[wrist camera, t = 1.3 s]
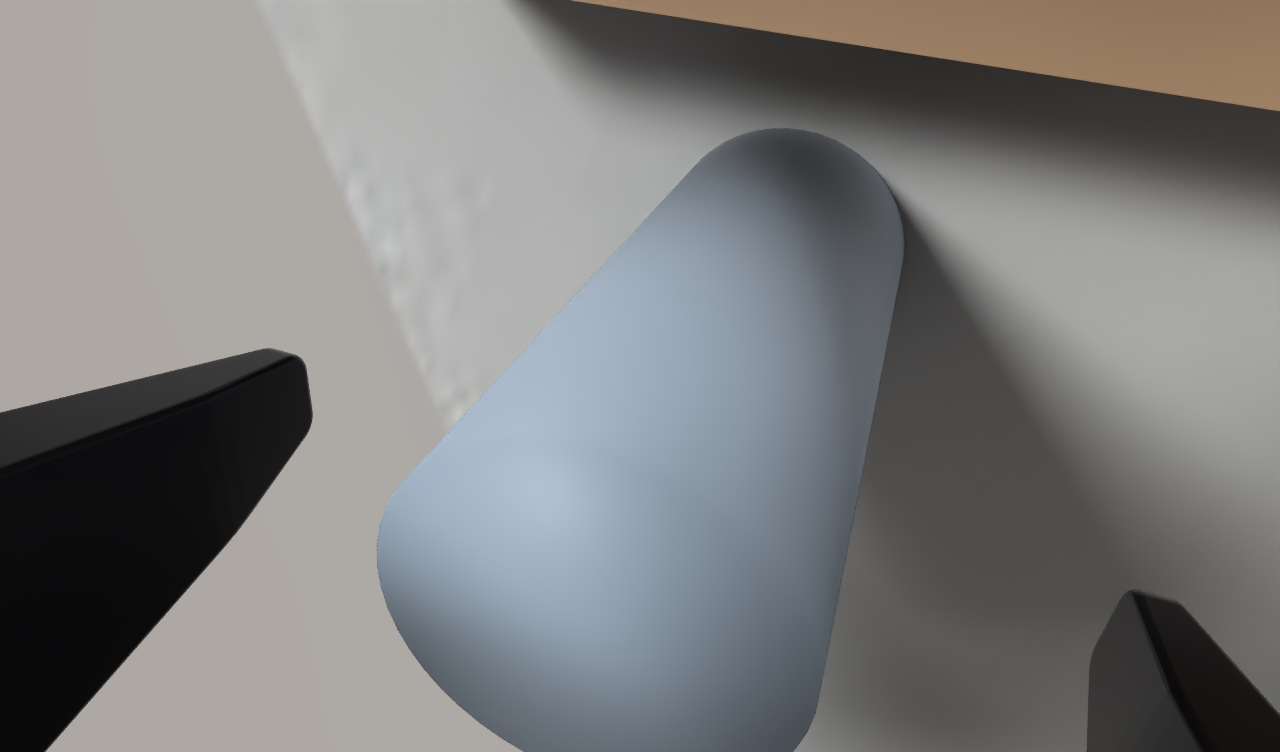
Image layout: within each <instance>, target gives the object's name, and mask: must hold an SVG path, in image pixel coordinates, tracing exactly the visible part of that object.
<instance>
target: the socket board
mask: <svg viewBox="0 0 1280 752" xmlns="http://www.w3.org/2000/svg"><path fill="white" fill-rule="evenodd" d="M572 1H578V2H585V3H591V4H597V5H604V6H610V7H617V8H623V9H629V10H636V11H642V12H648V13H655V14H661V15H668V16H674V17H680V18H687V19H693V20H700V21H706V22H712V23H719V24H725V25H732V26H738V27H744V28H751V29H757V30H764V31H770V32H776V33H783V34H789V35H796V36H802V37H808V38H815V39H821V40H828V41H834V42H840V43H847V44H853V45H860V46H866V47H872V48H879V49H885V50H892V51H898V52H904V53H911V54H917V55H924V56H930V57H936V58H943V59H949V60H956V61H962V62H968V63H975V64H981V65H988V66H994V67H1000V68H1007V69H1013V70H1020V71H1026V72H1032V73H1039V74H1045V75H1052V76H1058V77H1064V78H1071V79H1077V80H1083V81H1090V82H1096V83H1103V84H1109V85H1115V86H1122V87H1128V88H1135V89H1141V90H1147V91H1154V92H1160V93H1167V94H1173V95H1179V96H1186V97H1192V98H1199V99H1205V100H1211V101H1218V102H1224V103H1231V104H1237V105H1243V106H1250V107H1256V108H1263V109H1269V110H1275V111H1280V0H572Z"/></svg>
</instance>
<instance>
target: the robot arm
mask: <svg viewBox="0 0 1280 752" xmlns="http://www.w3.org/2000/svg"><path fill="white" fill-rule="evenodd" d="M312 417H313V412H312V404H311V397H310V390H309V383H308V376H307V369H306V365H305V363H304V362H303V360H302V359H301V358H300V357H298V356H297V355H294V354H291V353H287V352H284V351H280V350H276V349H270V348H266V349H261V350H257V351H253V352H248V353H244V354H240V355H236V356H232V357H228V358H224V359H220V360H215V361H211V362H208V363H203V364H199V365H195V366H191V367H187V368H182V369H178V370H174V371H170V372H166V373H162V374H158V375H154V376H149V377H145V378H141V379H137V380H133V381H129V382H125V383H120V384H116V385H112V386H108V387H104V388H100V389H96V390H92V391H87V392H83V393H79V394H75V395H71V396H67V397H63V398H59V399H55V400H50V401H46V402H42V403H38V404H34V405H30V406H25V407H21V408H17V409H13V410H9V411H5V412H1V413H0V752H46V750H47V749H48V748H49V747H50V746H51V745H52V744H53V742H54V741H55V740H56V739H57V738H58V737H59V736H60V734H61V733H62V732H63V731H64V730H65V728H67V726H68V725H69V724H70V723H71V722H72V720H74V718H75V717H76V716H77V715H78V714H79V713H80V711H81V710H82V709H83V708H84V707H85V706H86V705H87V704H88V702H89V701H90V700H91V699H92V698H93V697H94V696H95V694H96V693H97V692H98V691H99V690H100V689H101V688H102V686H103V685H104V684H105V683H106V682H107V681H108V680H109V678H110V677H111V676H112V675H113V674H114V672H116V670H117V669H118V668H119V667H120V666H121V665H122V663H123V662H124V661H125V660H126V659H127V658H128V657H129V656H130V654H131V653H132V652H133V651H134V650H135V649H136V648H137V646H138V645H139V644H140V643H141V642H142V641H143V640H144V639H145V637H146V636H147V635H148V634H149V633H150V632H151V631H152V629H153V628H154V627H155V626H156V625H157V624H158V623H159V621H160V620H161V619H162V618H163V617H164V616H165V615H166V613H167V612H168V611H169V610H170V609H171V608H172V607H173V605H174V604H175V603H176V602H177V601H178V600H179V599H180V597H181V596H182V595H183V594H184V593H185V592H186V590H187V589H188V588H189V587H190V586H191V585H192V584H193V583H194V581H195V580H196V579H197V578H198V577H199V575H201V573H202V572H203V571H204V570H205V569H206V568H207V566H208V565H209V564H210V563H211V562H212V561H213V560H214V559H215V557H216V556H217V555H218V554H219V553H220V552H221V551H222V549H223V548H224V547H225V546H226V545H227V543H228V542H229V541H230V540H231V539H232V537H233V536H234V535H235V534H236V533H237V531H238V530H239V529H240V527H241V526H242V525H243V523H244V522H245V521H246V519H247V518H248V517H249V515H250V514H251V513H252V511H253V510H254V508H255V507H256V506H257V504H258V503H259V501H260V500H261V498H262V497H263V496H264V494H265V493H266V491H267V490H268V489H269V487H270V486H271V484H272V483H273V481H274V480H275V479H276V477H277V476H278V475H279V473H280V472H281V470H282V469H283V467H284V466H285V464H286V463H287V462H288V461H289V459H290V458H291V456H292V455H293V454H294V452H295V451H296V449H297V448H298V446H299V445H300V444H301V442H302V441H303V439H304V438H305V437H306V435H307V433H308V431H309V429H310V426H311V423H312ZM1087 752H1280V714H1279V713H1278V712H1277V711H1276V709H1275V708H1274V707H1273V706H1272V705H1271V704H1270V703H1269V702H1268V700H1267V699H1266V698H1265V697H1264V696H1263V695H1262V694H1261V693H1260V691H1259V690H1258V689H1257V688H1256V687H1255V686H1254V685H1253V684H1252V682H1251V681H1250V680H1249V679H1248V678H1247V677H1246V676H1245V675H1244V673H1243V672H1242V671H1241V670H1240V669H1239V668H1238V667H1237V666H1236V664H1235V663H1234V662H1233V661H1232V660H1231V659H1230V658H1229V657H1228V655H1227V654H1226V653H1225V652H1224V651H1223V650H1222V649H1221V648H1220V646H1219V645H1218V644H1217V643H1216V642H1215V641H1214V640H1213V639H1212V638H1211V636H1210V635H1209V634H1208V633H1207V632H1206V631H1205V630H1204V629H1203V627H1202V626H1201V625H1200V624H1199V623H1198V622H1197V621H1196V620H1195V618H1194V617H1193V616H1192V615H1191V614H1190V613H1189V612H1188V611H1187V609H1186V608H1185V607H1184V606H1183V605H1182V604H1180V603H1179V602H1178V601H1176V600H1174V599H1171V598H1167V597H1163V596H1160V595H1156V594H1153V593H1149V592H1145V591H1142V590H1138V589H1134V590H1131V591H1128V592H1127V593H1126V594H1125V595H1124V596H1123V597H1122V598H1121V600H1120V601H1119V603H1118V605H1117V607H1116V609H1115V610H1114V612H1113V614H1112V616H1111V618H1110V620H1109V621H1108V623H1107V625H1106V627H1105V629H1104V631H1103V632H1102V634H1101V636H1100V638H1099V640H1098V642H1097V643H1096V646H1095V648H1094V650H1093V653H1092V657H1091V662H1090V669H1089V696H1088V728H1087Z"/></svg>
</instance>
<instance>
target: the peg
mask: <svg viewBox="0 0 1280 752" xmlns="http://www.w3.org/2000/svg"><path fill="white" fill-rule="evenodd" d="M904 244H905V242H904V231H903V225H902V221H901V217H900V212H899V210H898V207H897V205H896V202H895V200H894V197H893V196H892V194H891V192H890V190H889V189H888V187H887V185H886V183H885V182H884V181H883V179H882V178H881V177H880V176H879V174H878V173H877V172H876V170H875V169H874V168H873V167H872V166H871V165H870V164H869V163H868V162H867V161H866V160H864V159H863V158H862V157H861V156H859V155H858V154H857V153H855V152H854V151H853V150H851V149H850V148H848V147H846V146H845V145H843V144H841V143H839V142H837V141H836V140H833V139H831V138H828V137H826V136H823V135H820V134H817V133H813V132H809V131H805V130H797V129H789V128H779V129H765V130H759V131H753V132H750V133H747V134H743V135H740V136H737V137H735V138H733V139H731V140H729V141H726V142H724V143H723V144H721V145H720V146H718V147H716V148H715V149H713V150H712V151H711V152H709V153H708V154H707V155H706V156H705V157H703V158H702V159H701V160H700V161H699V162H698V163H697V164H696V165H695V166H694V168H693V169H692V170H691V171H690V172H689V173H688V174H687V175H686V176H685V177H684V178H683V179H682V180H681V182H680V183H679V184H678V185H677V186H676V187H675V188H674V189H673V190H672V191H671V192H670V193H669V195H668V196H667V197H666V198H665V199H664V200H663V201H662V202H661V203H660V204H659V205H658V206H657V207H656V209H655V210H654V211H653V212H652V213H651V214H650V215H649V216H648V217H647V218H646V219H645V220H644V222H643V223H642V224H641V225H640V226H639V227H638V228H637V229H636V230H635V231H634V232H633V233H632V234H631V236H630V237H629V238H628V239H627V240H626V241H625V242H624V243H623V244H622V245H621V246H620V247H619V249H618V250H617V251H616V252H615V253H614V254H613V255H612V256H611V257H610V258H609V259H608V260H607V261H606V263H605V264H604V265H603V266H602V267H601V268H600V269H599V270H598V271H597V272H596V273H595V274H594V276H593V277H592V278H591V279H590V280H589V281H588V282H587V283H586V284H585V285H584V286H583V287H582V288H581V290H580V291H579V292H578V293H577V294H576V295H575V296H574V297H573V298H572V299H571V300H570V301H569V303H568V304H567V305H566V306H565V307H564V308H563V309H562V310H561V311H560V312H559V313H558V314H557V315H556V317H555V318H554V319H553V320H552V321H551V322H550V323H549V324H548V325H547V326H546V327H545V328H544V330H543V331H542V332H541V333H540V334H539V335H538V336H537V337H536V338H535V339H534V340H533V341H532V342H531V344H530V345H529V346H528V347H527V348H526V349H525V350H524V351H523V352H522V353H521V354H520V355H519V357H518V358H517V359H516V360H515V361H514V362H513V363H512V364H511V365H510V366H509V367H508V368H507V369H506V371H505V372H504V373H503V374H502V375H501V376H500V377H499V378H498V379H497V380H496V381H495V382H494V384H493V385H492V386H491V387H490V388H489V389H488V390H487V391H486V392H485V393H484V394H483V395H482V396H481V398H480V399H479V400H478V401H477V402H476V403H475V404H474V405H473V406H472V407H471V408H470V409H469V411H468V412H467V413H466V414H465V415H464V416H463V417H462V418H461V419H460V420H459V421H458V422H457V423H456V425H455V426H454V427H453V428H452V429H451V430H450V431H449V432H448V433H447V434H446V435H445V436H444V438H443V439H442V440H441V441H440V442H439V443H438V444H437V445H436V446H435V447H434V448H433V449H432V450H431V452H430V453H429V454H428V455H427V456H426V457H425V458H424V459H423V460H422V461H421V462H420V463H419V465H418V466H417V467H416V468H415V469H414V470H413V471H412V472H411V473H410V474H409V475H408V477H407V478H406V479H405V480H404V481H403V482H402V483H401V484H400V485H399V487H398V488H397V489H396V491H395V492H394V494H393V496H392V497H391V499H390V501H389V502H388V504H387V506H386V508H385V511H384V514H383V517H382V520H381V523H380V526H379V533H378V541H377V567H378V573H379V578H380V584H381V589H382V592H383V595H384V598H385V601H386V604H387V607H388V610H389V612H390V614H391V616H392V618H393V621H394V622H395V625H396V627H397V629H398V631H399V633H400V634H401V636H402V638H403V639H404V641H405V643H406V644H407V646H408V648H409V649H410V651H411V652H412V653H413V655H414V656H415V657H416V659H417V660H418V662H419V663H420V664H421V666H422V667H423V668H424V670H425V671H426V672H427V673H428V674H429V675H430V677H431V678H432V679H433V680H434V681H435V682H436V683H437V684H438V686H439V687H440V688H441V689H442V690H443V691H444V692H445V693H446V694H447V695H448V696H449V697H450V698H451V699H452V700H453V701H455V702H456V703H457V704H458V705H459V706H460V707H461V708H462V709H463V710H465V711H466V712H467V713H468V714H470V715H471V716H472V717H473V718H474V719H476V720H477V721H478V722H479V723H480V724H482V725H483V726H485V727H486V728H488V729H489V730H490V731H492V732H493V733H495V734H496V735H498V736H499V737H501V738H502V739H504V740H505V741H507V742H508V743H510V744H512V745H514V746H515V747H517V748H518V749H520V750H522V751H523V752H793V751H794V750H795V749H796V747H797V746H798V745H799V743H800V742H801V740H802V739H803V737H804V736H805V735H806V733H807V731H808V729H809V727H810V724H811V722H812V720H813V717H814V715H815V713H816V708H817V703H818V698H819V693H820V688H821V683H822V678H823V673H824V667H825V662H826V657H827V652H828V647H829V642H830V636H831V631H832V626H833V621H834V616H835V611H836V605H837V600H838V595H839V590H840V585H841V580H842V574H843V569H844V564H845V559H846V554H847V549H848V543H849V538H850V533H851V528H852V523H853V518H854V513H855V507H856V502H857V497H858V492H859V487H860V482H861V476H862V471H863V466H864V461H865V456H866V451H867V445H868V440H869V435H870V430H871V425H872V420H873V414H874V409H875V404H876V399H877V394H878V389H879V383H880V378H881V373H882V368H883V363H884V358H885V352H886V347H887V342H888V337H889V332H890V327H891V321H892V316H893V311H894V306H895V301H896V296H897V290H898V285H899V280H900V275H901V270H902V265H903V259H904Z"/></svg>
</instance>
